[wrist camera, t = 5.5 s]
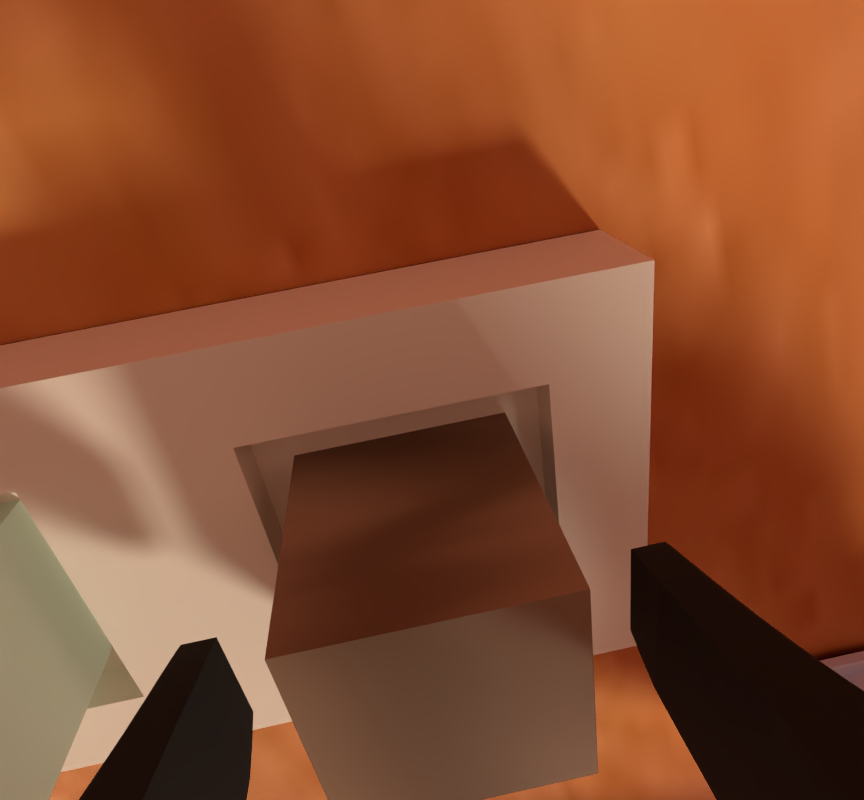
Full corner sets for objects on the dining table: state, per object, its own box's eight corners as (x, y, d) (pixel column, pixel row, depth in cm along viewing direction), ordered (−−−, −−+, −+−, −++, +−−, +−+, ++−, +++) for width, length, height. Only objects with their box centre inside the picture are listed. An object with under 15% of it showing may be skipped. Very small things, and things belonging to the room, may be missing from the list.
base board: (599, 229, 12) (654, 260, 10) (607, 573, 17) (645, 644, 15) (-378, 418, 12) (-545, 494, 10) (-86, 721, 17) (-153, 818, 14)
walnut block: (505, 412, 12) (590, 588, 8) (522, 567, 15) (598, 773, 10) (294, 455, 12) (264, 659, 8) (344, 605, 14) (342, 831, 10)
